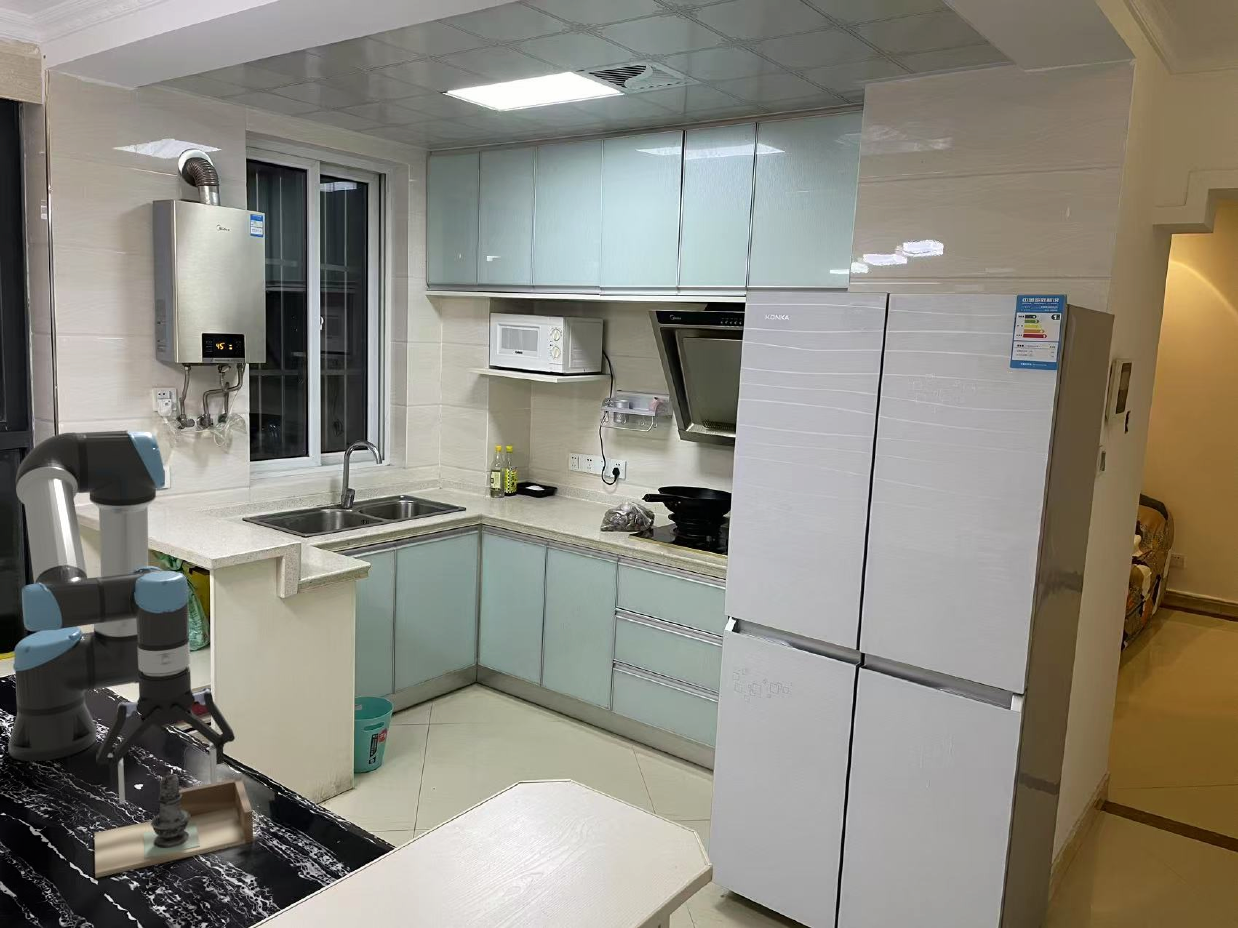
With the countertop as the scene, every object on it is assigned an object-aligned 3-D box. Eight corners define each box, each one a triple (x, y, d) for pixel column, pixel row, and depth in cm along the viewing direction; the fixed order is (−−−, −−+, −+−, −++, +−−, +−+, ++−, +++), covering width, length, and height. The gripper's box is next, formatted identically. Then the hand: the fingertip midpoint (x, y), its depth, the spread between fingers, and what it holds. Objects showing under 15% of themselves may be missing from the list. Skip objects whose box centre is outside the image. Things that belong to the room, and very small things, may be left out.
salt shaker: (198, 832, 155) (196, 765, 154) (175, 851, 150) (172, 781, 148) (167, 827, 156) (165, 760, 155) (143, 846, 151) (140, 776, 149)
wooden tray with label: (94, 837, 154) (93, 806, 154) (241, 806, 166) (241, 777, 165) (95, 877, 143) (93, 845, 143) (253, 841, 155) (252, 811, 154)
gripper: (74, 689, 139) (81, 819, 143) (250, 664, 152) (253, 785, 155) (75, 671, 146) (81, 796, 149) (243, 649, 158) (246, 765, 161)
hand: (168, 791), depth 152 cm, fingers open, 13 cm apart
